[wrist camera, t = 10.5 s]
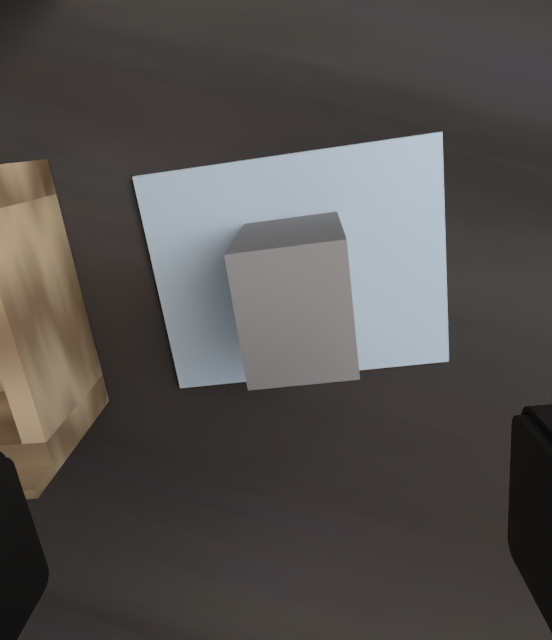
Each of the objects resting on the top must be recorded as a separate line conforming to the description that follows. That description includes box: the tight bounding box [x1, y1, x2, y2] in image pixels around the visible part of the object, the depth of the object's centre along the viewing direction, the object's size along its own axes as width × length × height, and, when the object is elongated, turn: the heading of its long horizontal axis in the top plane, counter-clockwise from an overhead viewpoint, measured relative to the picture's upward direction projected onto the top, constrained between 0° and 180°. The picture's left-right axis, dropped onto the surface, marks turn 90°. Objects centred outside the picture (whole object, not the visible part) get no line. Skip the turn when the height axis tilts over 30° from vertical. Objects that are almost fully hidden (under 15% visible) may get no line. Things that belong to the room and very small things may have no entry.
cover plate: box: [132, 132, 449, 390], centre depth 21 cm, size 10×13×7 cm
